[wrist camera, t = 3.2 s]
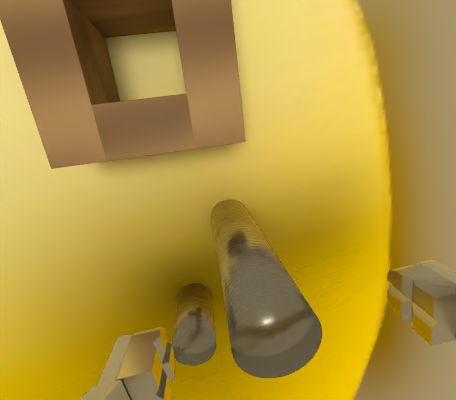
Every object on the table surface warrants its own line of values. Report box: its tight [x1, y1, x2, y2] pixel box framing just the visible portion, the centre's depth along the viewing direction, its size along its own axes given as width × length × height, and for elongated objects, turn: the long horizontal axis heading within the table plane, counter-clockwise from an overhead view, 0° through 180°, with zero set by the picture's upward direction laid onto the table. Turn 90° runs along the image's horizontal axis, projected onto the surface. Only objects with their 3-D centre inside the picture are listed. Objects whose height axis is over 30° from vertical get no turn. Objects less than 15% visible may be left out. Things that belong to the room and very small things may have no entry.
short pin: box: [172, 284, 216, 365], centre depth 18 cm, size 3×3×5 cm
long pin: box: [211, 200, 322, 378], centre depth 13 cm, size 3×3×12 cm
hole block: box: [0, 0, 246, 169], centre depth 13 cm, size 10×10×5 cm
